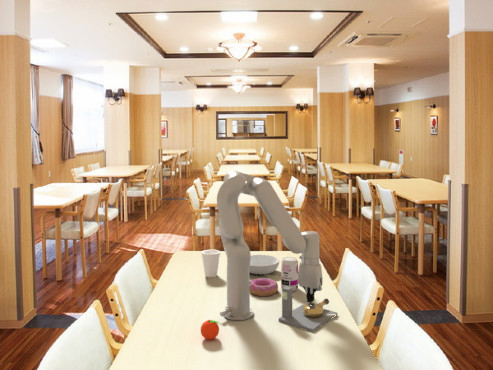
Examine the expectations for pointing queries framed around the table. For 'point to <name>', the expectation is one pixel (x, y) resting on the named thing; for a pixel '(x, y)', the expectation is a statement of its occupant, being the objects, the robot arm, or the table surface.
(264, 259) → the serving bowl
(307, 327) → the stand
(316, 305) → the gold pan with handle
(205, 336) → the clementine
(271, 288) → the donut
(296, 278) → the white soda can
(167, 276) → the table surface
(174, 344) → the table surface
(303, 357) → the table surface
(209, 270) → the foam cup
